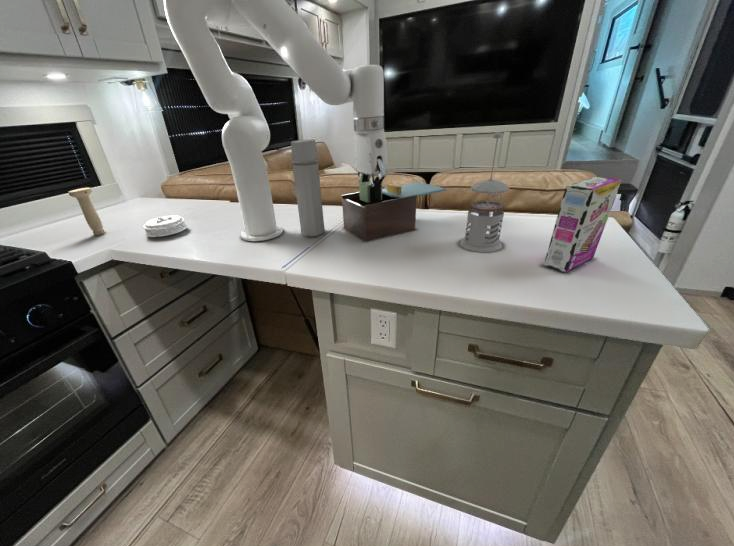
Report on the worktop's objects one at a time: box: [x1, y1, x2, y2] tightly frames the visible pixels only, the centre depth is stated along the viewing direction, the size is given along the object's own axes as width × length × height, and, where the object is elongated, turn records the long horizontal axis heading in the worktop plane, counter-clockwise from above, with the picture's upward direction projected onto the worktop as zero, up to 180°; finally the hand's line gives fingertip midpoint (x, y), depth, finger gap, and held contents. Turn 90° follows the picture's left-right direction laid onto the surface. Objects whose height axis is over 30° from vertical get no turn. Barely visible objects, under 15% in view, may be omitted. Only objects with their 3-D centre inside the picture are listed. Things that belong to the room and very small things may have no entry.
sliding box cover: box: [382, 181, 447, 199], centre depth 95 cm, size 13×15×3 cm
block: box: [358, 181, 383, 203], centre depth 91 cm, size 5×5×5 cm
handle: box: [67, 187, 105, 236], centre depth 111 cm, size 5×6×15 cm
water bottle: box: [290, 138, 326, 238], centre depth 92 cm, size 9×8×25 cm
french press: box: [459, 131, 510, 253], centre depth 76 cm, size 10×12×25 cm
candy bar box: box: [542, 176, 623, 273], centre depth 65 cm, size 11×5×16 cm, turn 123°
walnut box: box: [341, 186, 418, 242], centre depth 95 cm, size 14×16×10 cm
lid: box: [142, 214, 188, 238], centre depth 108 cm, size 13×13×5 cm
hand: (370, 198), depth 92 cm, fingers closed on block, 4 cm apart
